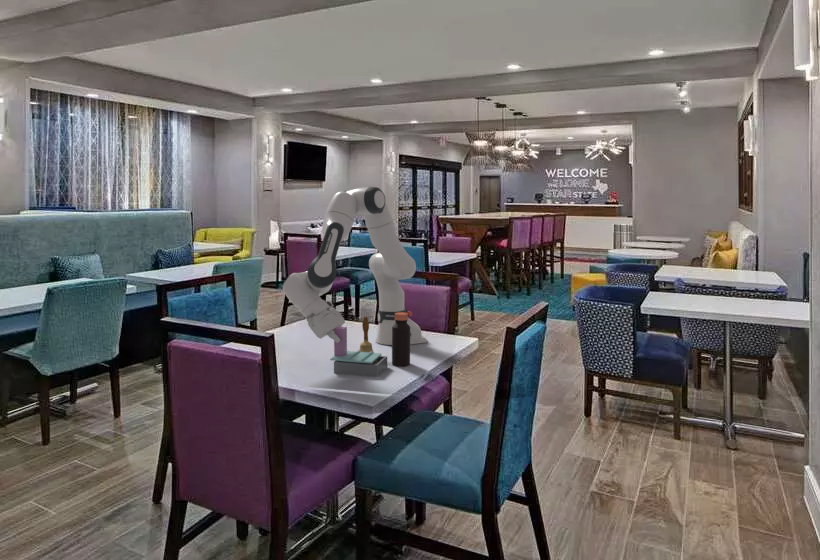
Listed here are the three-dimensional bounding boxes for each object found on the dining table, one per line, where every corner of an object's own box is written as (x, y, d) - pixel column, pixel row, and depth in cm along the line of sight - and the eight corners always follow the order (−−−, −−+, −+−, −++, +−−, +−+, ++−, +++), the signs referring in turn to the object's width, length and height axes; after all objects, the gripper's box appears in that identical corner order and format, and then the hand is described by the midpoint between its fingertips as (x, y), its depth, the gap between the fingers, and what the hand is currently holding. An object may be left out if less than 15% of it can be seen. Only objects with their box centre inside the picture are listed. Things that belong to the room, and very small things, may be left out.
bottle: (413, 365, 217) (413, 312, 214) (405, 369, 211) (405, 315, 208) (396, 362, 220) (397, 311, 217) (388, 367, 214) (388, 314, 211)
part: (377, 368, 210) (377, 360, 209) (374, 371, 206) (374, 362, 206) (367, 367, 211) (367, 359, 210) (363, 370, 207) (363, 362, 207)
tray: (387, 369, 211) (387, 356, 211) (377, 378, 200) (377, 365, 199) (346, 365, 215) (345, 353, 214) (334, 375, 204) (333, 361, 203)
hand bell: (373, 360, 224) (373, 319, 221) (353, 358, 225) (352, 318, 223) (378, 354, 232) (378, 315, 230) (358, 353, 233) (358, 314, 231)
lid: (381, 355, 211) (381, 326, 209) (371, 363, 200) (371, 333, 198) (341, 352, 215) (341, 324, 213) (330, 360, 203) (329, 330, 202)
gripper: (310, 310, 198) (337, 340, 197) (332, 301, 217) (357, 328, 216) (298, 323, 199) (325, 352, 198) (321, 312, 219) (346, 339, 218)
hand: (342, 339), depth 208 cm, fingers closed on lid, 3 cm apart
